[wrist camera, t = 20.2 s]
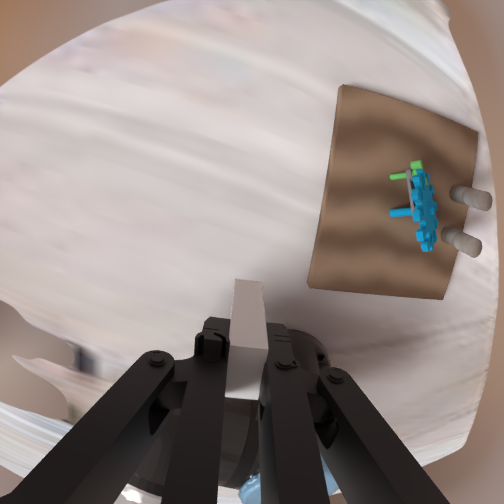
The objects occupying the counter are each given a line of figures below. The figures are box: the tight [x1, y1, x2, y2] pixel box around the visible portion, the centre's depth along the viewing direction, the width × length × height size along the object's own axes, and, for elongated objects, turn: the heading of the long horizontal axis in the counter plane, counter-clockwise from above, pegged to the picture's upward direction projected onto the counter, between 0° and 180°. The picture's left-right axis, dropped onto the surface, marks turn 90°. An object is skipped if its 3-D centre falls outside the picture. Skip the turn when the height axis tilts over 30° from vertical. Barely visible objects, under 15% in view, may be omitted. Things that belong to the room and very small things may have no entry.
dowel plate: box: [307, 84, 492, 300], centre depth 34 cm, size 26×22×9 cm
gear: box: [390, 160, 438, 252], centre depth 34 cm, size 11×6×10 cm
